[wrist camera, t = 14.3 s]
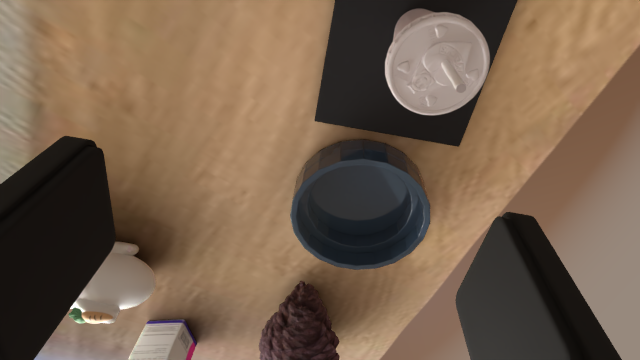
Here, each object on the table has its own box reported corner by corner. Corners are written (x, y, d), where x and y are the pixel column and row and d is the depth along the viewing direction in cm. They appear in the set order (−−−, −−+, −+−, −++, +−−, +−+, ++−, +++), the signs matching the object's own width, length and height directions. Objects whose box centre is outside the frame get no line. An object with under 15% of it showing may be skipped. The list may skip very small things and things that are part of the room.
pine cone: (258, 266, 50) (292, 316, 42) (326, 258, 55) (369, 301, 47) (240, 380, 56) (268, 443, 48) (304, 363, 61) (339, 418, 53)
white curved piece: (138, 329, 43) (-21, 309, 40) (146, 333, 50) (11, 316, 47) (162, 242, 47) (19, 218, 44) (166, 257, 54) (44, 237, 51)
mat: (357, -127, 29) (357, -128, 28) (548, -89, 29) (553, -89, 29) (315, 117, 39) (314, 121, 38) (457, 142, 40) (459, 146, 39)
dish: (305, 127, 40) (300, 147, 36) (441, 151, 40) (449, 173, 37) (288, 232, 47) (283, 258, 44) (403, 251, 48) (407, 278, 44)
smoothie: (472, 35, 33) (538, 100, 22) (407, 85, 36) (435, 167, 24) (426, -30, 31) (473, 3, 19) (361, 29, 34) (367, 89, 22)
